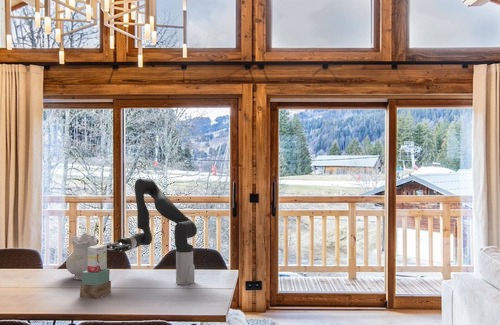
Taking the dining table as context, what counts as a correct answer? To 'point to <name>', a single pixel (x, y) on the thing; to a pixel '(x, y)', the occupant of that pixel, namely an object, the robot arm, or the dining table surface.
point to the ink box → (97, 258)
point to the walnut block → (95, 290)
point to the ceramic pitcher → (80, 255)
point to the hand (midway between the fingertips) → (107, 249)
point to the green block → (95, 277)
